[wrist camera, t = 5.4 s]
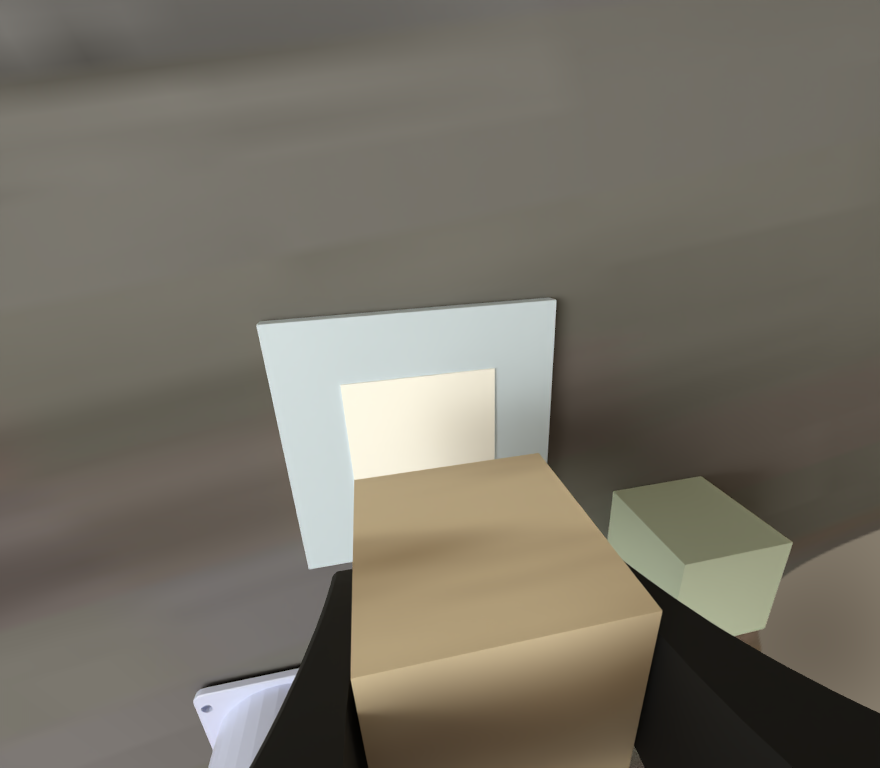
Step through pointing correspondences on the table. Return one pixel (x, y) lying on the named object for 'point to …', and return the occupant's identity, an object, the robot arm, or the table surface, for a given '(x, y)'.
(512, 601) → the maple block
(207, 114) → the table surface
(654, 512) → the sage block
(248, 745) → the robot arm
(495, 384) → the board
